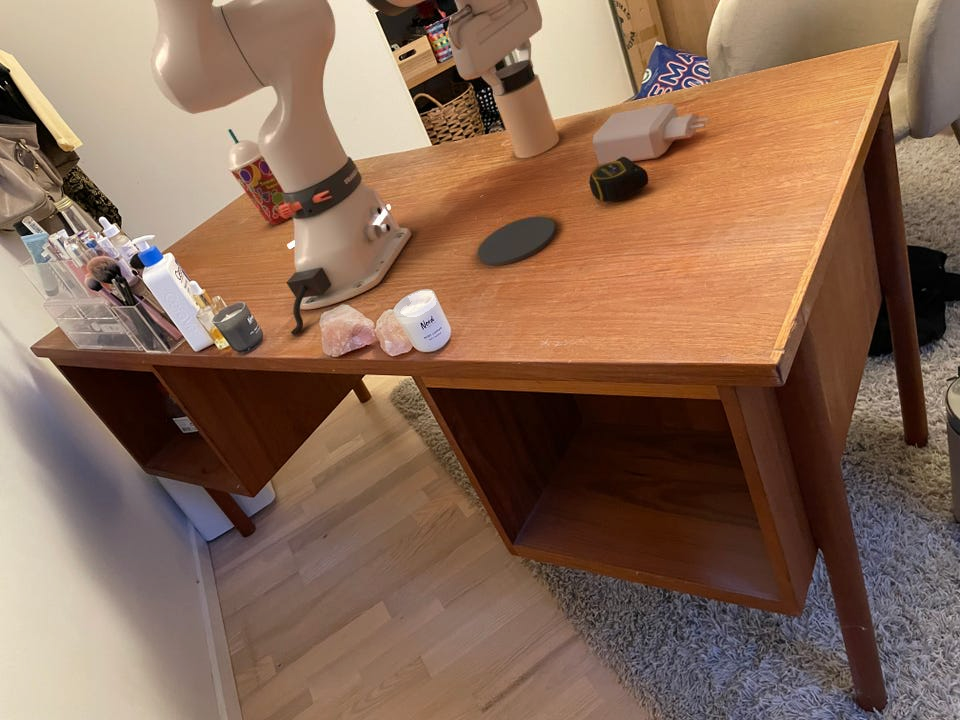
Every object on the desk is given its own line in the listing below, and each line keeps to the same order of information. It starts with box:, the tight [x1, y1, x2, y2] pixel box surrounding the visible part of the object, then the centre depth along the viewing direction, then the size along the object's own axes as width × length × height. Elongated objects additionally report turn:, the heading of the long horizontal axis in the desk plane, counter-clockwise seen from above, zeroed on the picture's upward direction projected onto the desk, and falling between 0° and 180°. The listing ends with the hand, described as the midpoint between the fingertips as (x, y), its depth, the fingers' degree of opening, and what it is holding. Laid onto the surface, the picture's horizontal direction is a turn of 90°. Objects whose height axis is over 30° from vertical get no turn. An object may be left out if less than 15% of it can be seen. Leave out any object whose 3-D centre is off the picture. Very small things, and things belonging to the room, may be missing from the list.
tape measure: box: [588, 157, 649, 203], centre depth 90 cm, size 7×7×4 cm
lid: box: [495, 60, 536, 93], centre depth 112 cm, size 7×7×2 cm
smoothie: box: [227, 128, 292, 226], centre depth 139 cm, size 8×8×20 cm
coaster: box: [477, 216, 557, 266], centre depth 92 cm, size 11×11×1 cm
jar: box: [492, 73, 560, 159], centre depth 115 cm, size 8×8×13 cm
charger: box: [591, 102, 710, 167], centre depth 97 cm, size 5×9×15 cm
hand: (515, 82), depth 112 cm, fingers closed on lid, 7 cm apart
